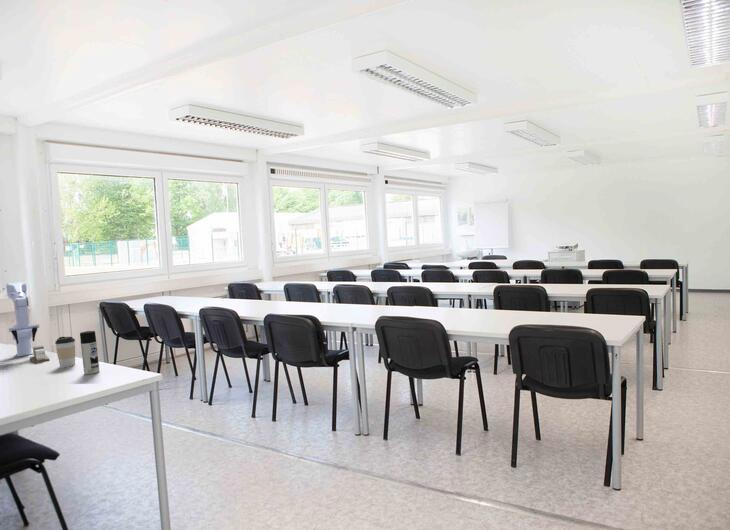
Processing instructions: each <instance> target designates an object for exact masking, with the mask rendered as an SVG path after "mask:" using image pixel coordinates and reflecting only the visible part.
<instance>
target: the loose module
mask: <svg viewBox="0 0 730 530" xmlns="http://www.w3.org/2000/svg"><path fill="white" fill-rule="evenodd" d="M33 348H34V354H33V356H34V357H35V358H36V354H35V350H39V349H44V350H45V348H44V345H38V346H32V349H33Z"/></svg>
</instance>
